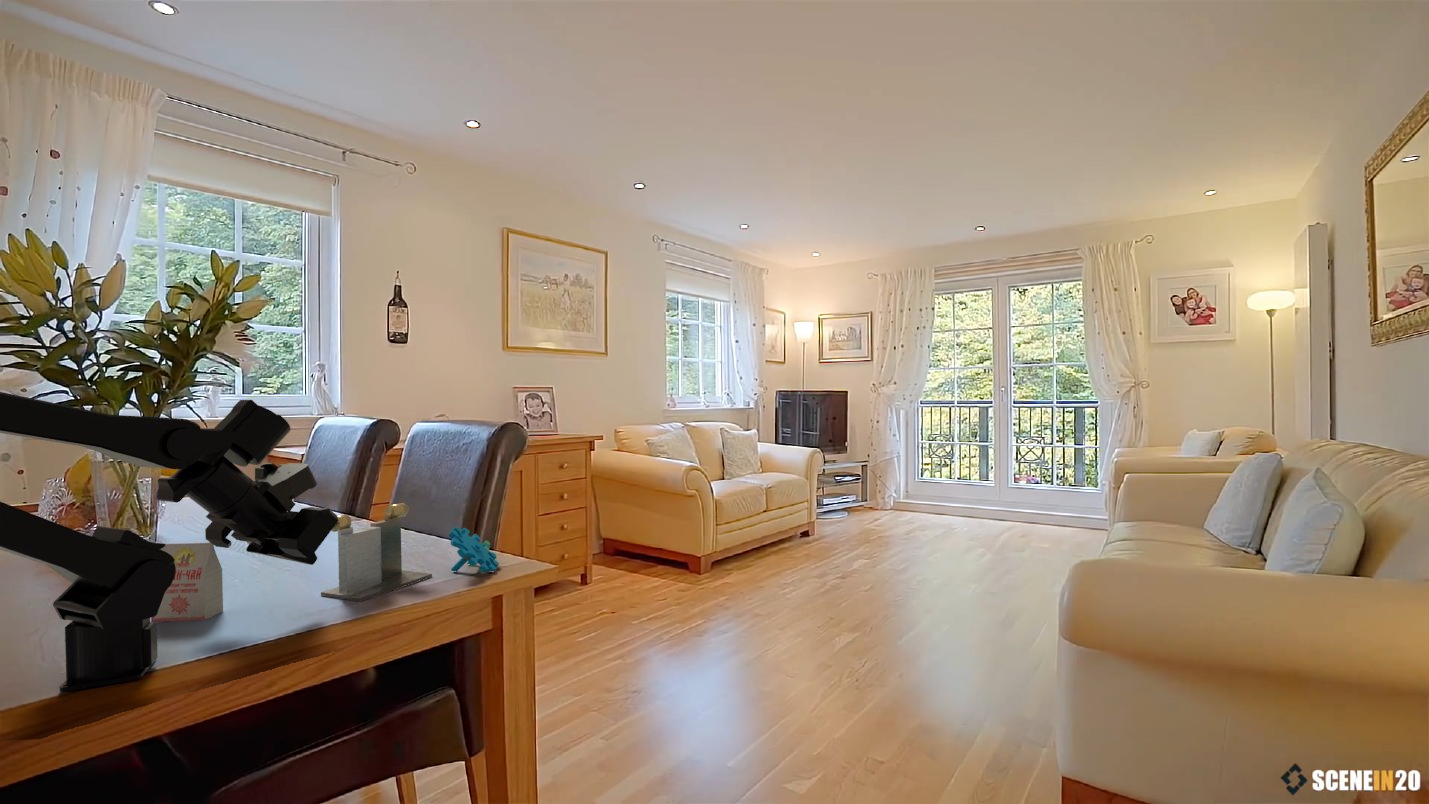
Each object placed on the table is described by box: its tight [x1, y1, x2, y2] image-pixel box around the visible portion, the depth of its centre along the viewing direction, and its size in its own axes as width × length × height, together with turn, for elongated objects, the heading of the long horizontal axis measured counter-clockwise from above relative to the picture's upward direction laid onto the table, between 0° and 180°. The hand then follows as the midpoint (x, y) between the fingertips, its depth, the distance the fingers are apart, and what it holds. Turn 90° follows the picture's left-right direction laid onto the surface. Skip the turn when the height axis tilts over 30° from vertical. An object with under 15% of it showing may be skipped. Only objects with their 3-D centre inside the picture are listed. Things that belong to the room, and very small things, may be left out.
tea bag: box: [150, 541, 224, 623], centre depth 91 cm, size 4×7×10 cm, turn 94°
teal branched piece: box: [448, 526, 500, 573], centre depth 112 cm, size 11×6×10 cm
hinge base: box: [320, 502, 433, 602], centre depth 104 cm, size 14×8×12 cm, turn 158°
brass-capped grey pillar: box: [330, 514, 382, 594], centre depth 100 cm, size 7×4×11 cm, turn 158°
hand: (313, 561), depth 93 cm, fingers closed
